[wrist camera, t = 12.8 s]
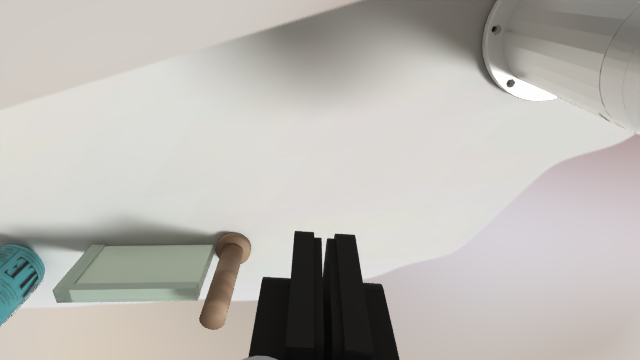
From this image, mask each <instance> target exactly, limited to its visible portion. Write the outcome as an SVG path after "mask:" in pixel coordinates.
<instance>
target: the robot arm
mask: <svg viewBox="0 0 640 360" xmlns="http://www.w3.org/2000/svg"><path fill="white" fill-rule="evenodd" d="M493 26H494V27H495V30H494V31H493V32H492V28H493ZM482 48H483V58H484V62H485V65H486V69H487V70H488V72H489V74H490V76H491V78H492V79H493V80H494V81H495V83H496V84H497V85H498V86H499V87H500V88H502V89H503V90H505V91H506V92H507V93H509V94H511V95H513V96H515V97H518V98H521V99H525V100H531V101H544V100H551V99H555V98H560V99H562V100H564V101H567V102H569V103H571V104H573V105H575V106H577V107H580V108H582V109H584V110H586V111H588V112H590V113H593V114H595V115H597V116H599V117H601V118H603V119H606V120H608V121H610V122H612V123H614V124H616V125H619V126H621V127H623V128H625V129H627V130H629V131H632V132H634V133H636V134H639V135H640V0H497V1H496V2H495V4H494V6H493V8H492V10H491V12H490V14H489V16H488V18H487V22H486V25H485V29H484V33H483V42H482ZM508 80H509V82H508V83H507V84H506V82H507V81H508ZM243 360H399V356H398V351H397V347H396V342H395V338H394V334H393V329H392V325H391V320H390V316H389V311H388V307H387V303H386V299H385V294H384V289H383V287H382V285H381V284H374V283H363V281H362V275H361V269H360V263H359V257H358V250H357V244H356V238H355V235H348V234H335V236H334V239H329V238H327V243H326V252H325V261H324V270H323V277H322V241H321V238H314V232H302V231H295V234H294V246H293V259H292V271H291V279H290V278H273V277H263V279H262V283H261V289H260V295H259V300H258V306H257V312H256V317H255V323H254V329H253V335H252V340H251V346H250V352H249V357H248V358H245V359H243Z"/></svg>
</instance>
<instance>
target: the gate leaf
mask: <svg viewBox="0 0 640 360" xmlns="http://www.w3.org/2000/svg"><path fill="white" fill-rule="evenodd" d="M213 255H214V247H213V245H145V246H105V245H91V246H90V247H89V248H88V249H87V250H86V252H85V253H84V254H83V255H82V256H81V258H80V259H79V260H78V261H77V262H76V263H75V265H74V266H73V267H72V268H71V269H70V270H69V272H68V273H67V274H66V275H65V276H64V277H63V279H62V280H61V281H60V282H59V283H58V284H57V286H56V287H55V288H54V289H53V293H54V296H55V298H56V301H57V303H62V302H128V301H194V300H198V298H199V295H200V290H201V288H202V285H203V282H204V280H205V277H206V274H207V271H208V269H209V266H210V263H211V261H212V258H213Z"/></svg>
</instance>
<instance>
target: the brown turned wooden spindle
mask: <svg viewBox="0 0 640 360" xmlns="http://www.w3.org/2000/svg"><path fill="white" fill-rule="evenodd" d="M250 251H251V244H250V242H249V240H248V239H247V238H246V237H245V236H244V235H242V234H239V233H227V234H225V235H223V236H222V237H221V238H220V239H219V241H218V244H217V246H216V254H217V256H218V258H219V262H218V265H217V268H216V271H215V274H214V277H213V280H212V282H211V285H210V288H209V291H208V294H207V297H206V300H205V303H204V306H203V309H202V312H201V315H200V318H199V319H200V323H201V324H202V325H203V326H204V327H205V328H208V329H212V330H215V329H219V328H221V327H222V326H223V325H224V323H225V320H226V316H227V313H228V309H229V305H230V301H231V297H232V293H233V290H234V286H235V282H236V278H237V274H238V270H239V267H240V264H242V263H244V262H245V261H246V260H247V259H248V258H249V255H250Z"/></svg>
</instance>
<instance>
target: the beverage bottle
mask: <svg viewBox="0 0 640 360" xmlns="http://www.w3.org/2000/svg"><path fill="white" fill-rule="evenodd" d="M44 273H45V268H44V264H43V262H42V260H41V259H40V258H39V256H38V255H36V254H35V253H34V252H33V251H31V250H30V249H28V248H25V247H23V246H19V245H13V244H9V245H3V246H1V247H0V326H1V325H2V324H3V323H4V321H5V320H6V319H7V318H8V317H9V316H10V315H11V314H12V313H13V312H14V310H15V309H16V308H17V307H18V306H19V305H20V304H21V303H22V304H23V303H24V302H25V301H26V300H27V299H26V300H25V298H26V297H27V296H28V295H29V294H30V293H31V292H32V291H33V290H34V289H36V288H37V287H36V286H37V285H38V284H39V283H40V282H41V280H42V279H43V276H44ZM42 281H43V280H42ZM41 283H42V282H41ZM35 287H36V288H35ZM33 292H34V291H33ZM33 292H32V293H33ZM32 293H31V294H32ZM31 294H30V295H31ZM24 300H25V301H24ZM23 301H24V302H23ZM22 304H21V305H22ZM21 305H20V306H21Z"/></svg>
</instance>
